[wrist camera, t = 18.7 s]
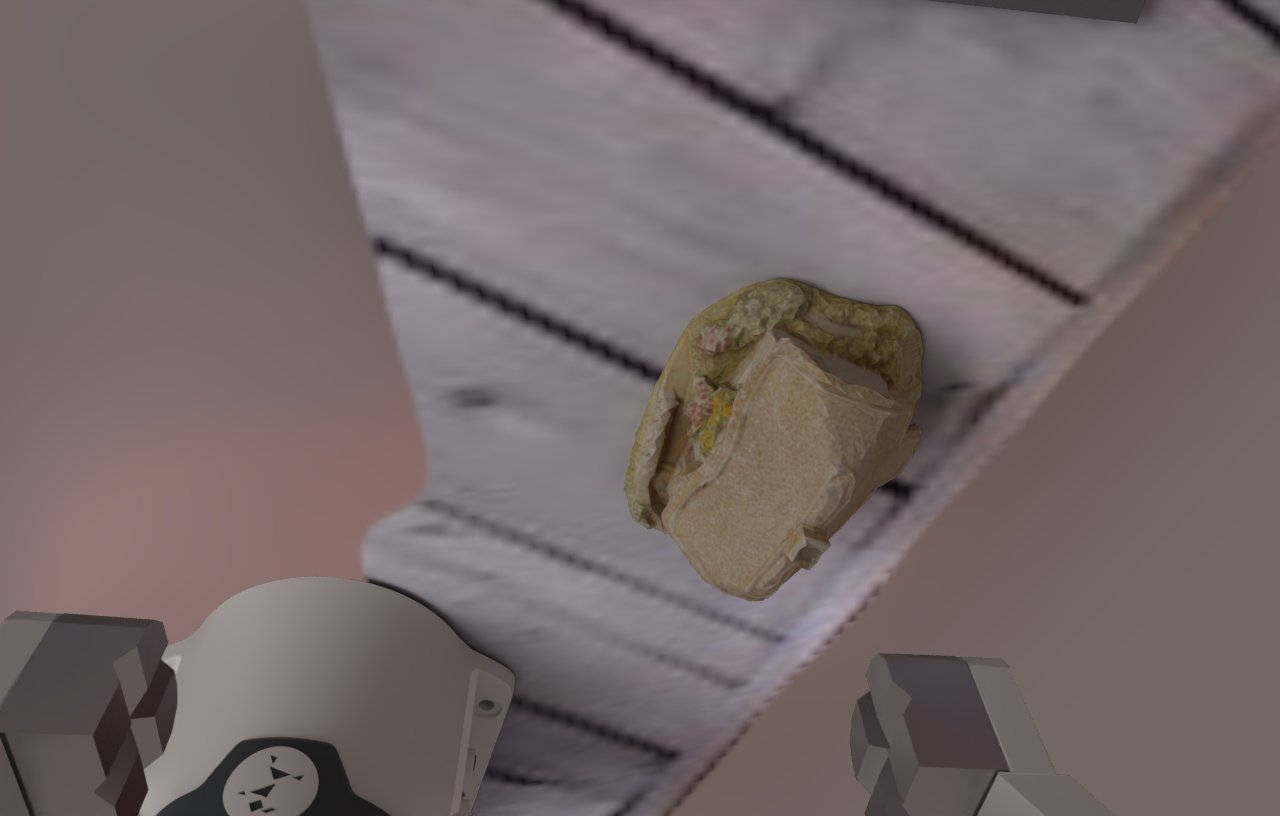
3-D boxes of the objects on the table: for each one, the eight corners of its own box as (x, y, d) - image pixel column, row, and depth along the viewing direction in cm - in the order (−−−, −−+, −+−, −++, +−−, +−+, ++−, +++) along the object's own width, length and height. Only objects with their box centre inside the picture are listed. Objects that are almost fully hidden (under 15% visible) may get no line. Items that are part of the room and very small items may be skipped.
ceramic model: (750, 224, 41) (790, 354, 32) (965, 340, 44) (1051, 485, 36) (583, 470, 47) (581, 631, 39) (782, 554, 51) (818, 718, 42)
